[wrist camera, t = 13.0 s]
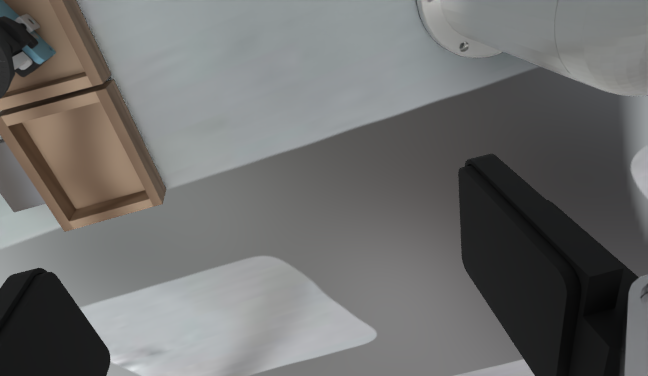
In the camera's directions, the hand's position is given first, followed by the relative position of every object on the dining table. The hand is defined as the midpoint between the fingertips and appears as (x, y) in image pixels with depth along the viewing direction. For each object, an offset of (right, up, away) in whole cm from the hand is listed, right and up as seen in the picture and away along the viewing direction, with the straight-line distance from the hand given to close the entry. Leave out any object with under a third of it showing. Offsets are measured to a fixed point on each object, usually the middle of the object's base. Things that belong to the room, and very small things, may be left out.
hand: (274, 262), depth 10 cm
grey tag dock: (-20, +4, +27) cm, 34 cm away
